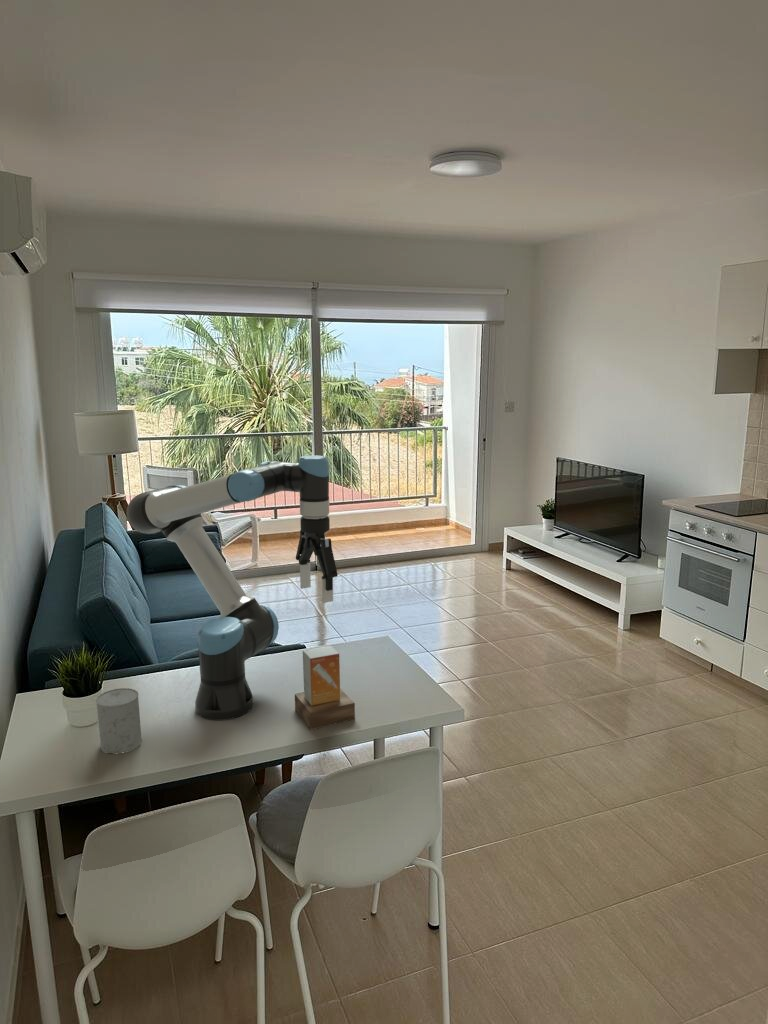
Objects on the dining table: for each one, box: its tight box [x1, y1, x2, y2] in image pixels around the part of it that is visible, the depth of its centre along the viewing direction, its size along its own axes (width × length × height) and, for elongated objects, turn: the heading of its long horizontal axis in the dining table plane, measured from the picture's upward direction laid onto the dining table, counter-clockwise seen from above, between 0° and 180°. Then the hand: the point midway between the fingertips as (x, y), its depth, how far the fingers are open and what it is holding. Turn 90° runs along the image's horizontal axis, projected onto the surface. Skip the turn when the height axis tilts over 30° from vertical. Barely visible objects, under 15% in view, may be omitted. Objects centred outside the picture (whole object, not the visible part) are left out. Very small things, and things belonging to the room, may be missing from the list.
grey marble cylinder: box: [95, 687, 143, 755], centre depth 175 cm, size 10×10×12 cm
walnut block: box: [294, 688, 356, 730], centre depth 190 cm, size 12×12×5 cm
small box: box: [302, 645, 341, 706], centre depth 188 cm, size 8×6×13 cm
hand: (316, 594), depth 192 cm, fingers open, 13 cm apart
